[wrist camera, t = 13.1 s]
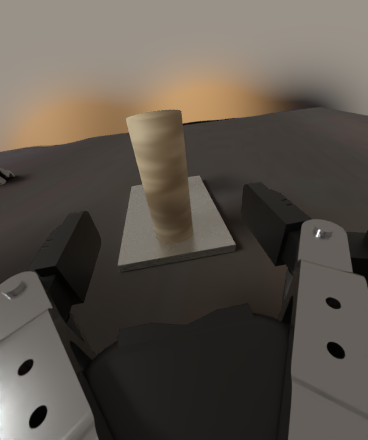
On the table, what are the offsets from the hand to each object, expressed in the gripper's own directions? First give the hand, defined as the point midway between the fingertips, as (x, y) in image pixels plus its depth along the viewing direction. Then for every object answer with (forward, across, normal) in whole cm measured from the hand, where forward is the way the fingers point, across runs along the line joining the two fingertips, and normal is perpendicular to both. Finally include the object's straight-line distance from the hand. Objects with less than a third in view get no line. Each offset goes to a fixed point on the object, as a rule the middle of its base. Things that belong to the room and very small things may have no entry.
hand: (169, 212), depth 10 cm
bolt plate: (+14, 0, +10) cm, 17 cm away
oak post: (+9, 0, +8) cm, 12 cm away
